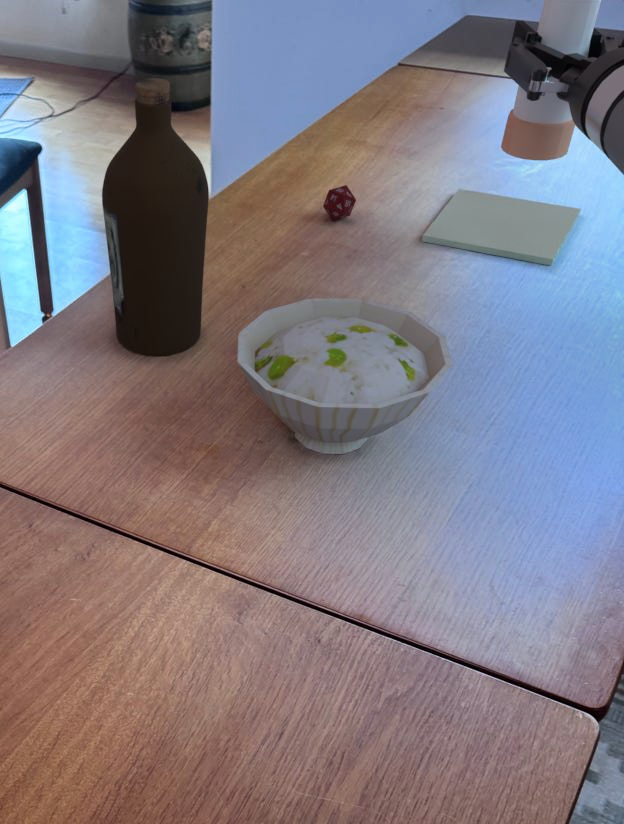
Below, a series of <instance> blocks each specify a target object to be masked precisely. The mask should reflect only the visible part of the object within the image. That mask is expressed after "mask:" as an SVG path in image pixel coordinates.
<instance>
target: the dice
mask: <svg viewBox="0 0 624 824" xmlns="http://www.w3.org/2000/svg"><path fill="white" fill-rule="evenodd" d="M356 202H357V198H356V197H355V196H354V195H353V193H352V191H351V189H350V188H349V186H348V185H347V184H345V185H341V186H338V187H335V188H332V189H329V190H328V192H327V195H326V197H325V199H324V202H323V205H322V207H323V209H324V210H325V212H326V213H327V215H328V216H329V218H330V220H331V221H332V222H334V221H337V220H341V219H344V218H348V217H350V216H351V214H352V211H353V209H354V207H355V204H356Z"/></svg>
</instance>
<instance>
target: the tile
mask: <svg viewBox="0 0 624 824" xmlns="http://www.w3.org/2000/svg"><path fill="white" fill-rule="evenodd" d="M581 211H582V208H577V207H573V206H572V207H571V206H565V205H560V204H554V203H553V204H552V203H547V202H542V201H535V200H529V199H522V198H517V197H512V196H511V197H510V196H505V195H498V194H493V193H486V192H481V191H474V190H468V189H462V188H459V189H458V190H457V191H456V192H455V194H454V195H452V197H451V198H450V200H449V201H448V202H447V203H446V205H445V206H444V207H443V208H442V210H441V211H440V212H439V214H438V215H437V217H436V218H435V219H434V220H433V221H432V223H431V224H430V225H429V227H427V229H426V231H425V232H423V234H422V238H421V242H422V243H423V242H424V243H430V244H434V245H439V246H445V247H450V248H455V249H461V250H464V251H465V250H466V251H471V252H477V253H482V254H487V255H493V256H498V257H503V258H508V259H514V260H517V261H519V260H520V261H524V262H529V263H536V264H540V265H545V266H550V267H551V266H553V263H554V262H555V260H556V259H557V256H558V255H559V253H560V251H561V249H562V247H563V245H564V244H565V242H566V240H567V238H568V237H569V235H570V233H571V231H572V230H573V227H574V225H575V224H576V223H577V220H578V218H579V217H580V214H581Z"/></svg>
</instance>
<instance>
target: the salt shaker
mask: <svg viewBox="0 0 624 824" xmlns="http://www.w3.org/2000/svg"><path fill="white" fill-rule="evenodd" d="M601 3H602V0H544V2H543V6H542V9H541V10H542V11H541V14H540V18H539V22H538V27H537V29H536V30H537V31H536V32H538V34H539V35H540V36H541V37H542V41H541V43H542V44H544V45H546V46H548V47H550V48H553V49H555V50H557V51H559V52H561V53H564V54H566V55H567V54H574V53H578V54H580V55H583V56H585V57H587V58H588V54H589V48H590V40H591V37H592V33H593V29H595V25H596V21H597V18H598V15H599V10H600V8H601ZM575 127H576V125H575V123H574V121H573V119H572V116H571V112H570V107H569V103H568V102H566V101H564V100H561V99H559V98H558V97H557V95H556V92H546V93H545V96H540V98H539V100H537V101H530V100H528V99H527V92H526V91H524V90H523V89H522V88H521V87H520V86H519V85H518V87H517V90H516V96H515V100H514V105H513V108H512V109H511V110H510V111H509V112H508V115H507V119H506V124H505V128H504V132H503V136H502V141H501V144H500V148H501V150H502V151H503V152H505V154H506V155H509V156H512V157H514V158H518V159H522V160H526V161H527V160H529V161H551V160H552V161H553V160H558V159H561V158H564V156H565V157H566V155H568V152H569V148H570V145H571V142H572V139H573V134H574V131H575Z"/></svg>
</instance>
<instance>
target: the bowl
mask: <svg viewBox="0 0 624 824" xmlns="http://www.w3.org/2000/svg"><path fill="white" fill-rule="evenodd" d="M237 334H238V335H237V364H238V366H239V368H240V370H241V373H242V374H243V376H244V378H245V380H246V382H247V384H248V386H249V388H250V390H251V391H252V392H253V393H254V394H255V395H256V396H257V397H258V398H259V399H260V401H262V402H263V404H265V406H267V407H268V408H269V410H271V412H272V413H273V414H274V415H275V416H276V417H278V418H279V420H280V421H281V422H283V423H284V424H285V425H286V426H287V428H288V429H290V430H291V432H294V438H295V439H296V440H297V441H298V442H299V443H300V444H301V445H302V446H303V447H304V448H305V449H308V450H312V451H314V452H317V453H320V454H325V455H328V454H329V455H344V454H347V453H350V452H353V451H356V450H359V449H360V448H361V447H362V446H363V445H364V444H365V443H366V442H367V441H368V439H369V438H370V437H373V436H376V435H379V434H382V433H383V432H385V431H387V430H388V429H390V428H391V427H394V426H395V425H397V424H398V423H400V422H402V421H403V420H405V419H406V418H409V417H410V416H411V415H412V414H413V412H414V411H415V410H416V409H417V408H418V406H420V404H421V403H422V402H423V401H424V400H425V399H426V397H427V396H428V395H429V394H430V393H431V392H432V390H433V389H434V388H435V387H436V385H438V384H439V382H440V381H441V380H442V379H443V378H444V376H445V375H446V374H447V373H448V372H449V371H450V369H451V368H452V367H453V366H454V364H453V361H452V357H451V353H450V349H449V345H448V342H447V338H446V335H444V334H443V333H442V332H440V331H439V330H437V329H436V328H435V327H434V326H432V325H430V324H429V323H428V322H426V321H425V320H424V319H422V318H421V317H419V316H418V315H416V314H415V313H414V312H412V311H409V310H406V309H401V308H398V307H395V306H390V305H387V304H384V303H380V302H376V301H372V300H368V299H365V298H313V297H312V298H306V299H303V300H300V301H299V300H298V301H296V302H292V303H289V304H285V305H282V306H278V307H274V308H270V309H268V310H264V311H263V312H262V313H261V314H259V315H258V316H257V317H256V318H255V319H254V320H252V322H249V324H247V326H245V327H244V328H243V329H242V330H241V331H239V333H237Z"/></svg>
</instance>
